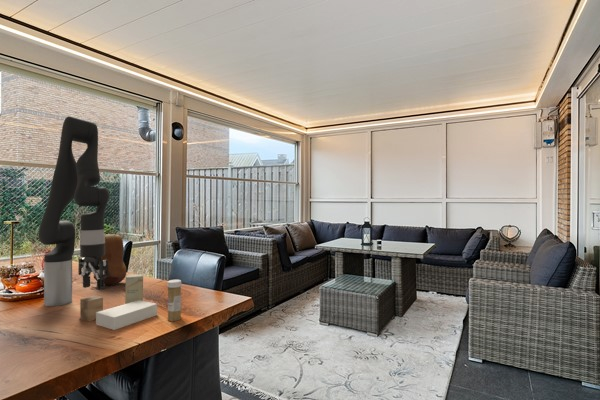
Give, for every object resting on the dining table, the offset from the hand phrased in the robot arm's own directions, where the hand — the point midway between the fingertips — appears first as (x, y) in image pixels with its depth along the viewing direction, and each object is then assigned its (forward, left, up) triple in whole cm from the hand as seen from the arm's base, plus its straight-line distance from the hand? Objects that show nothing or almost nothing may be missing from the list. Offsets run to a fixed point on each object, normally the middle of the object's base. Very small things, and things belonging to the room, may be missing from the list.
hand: (93, 288), depth 118 cm
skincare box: (+2, +15, -11) cm, 18 cm away
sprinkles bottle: (+27, +13, -11) cm, 31 cm away
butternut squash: (-40, +31, -11) cm, 52 cm away
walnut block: (0, 0, -10) cm, 10 cm away
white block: (+13, +5, -10) cm, 17 cm away
